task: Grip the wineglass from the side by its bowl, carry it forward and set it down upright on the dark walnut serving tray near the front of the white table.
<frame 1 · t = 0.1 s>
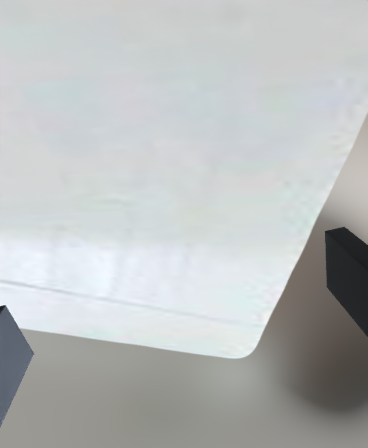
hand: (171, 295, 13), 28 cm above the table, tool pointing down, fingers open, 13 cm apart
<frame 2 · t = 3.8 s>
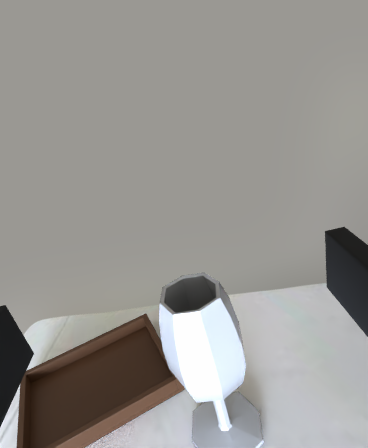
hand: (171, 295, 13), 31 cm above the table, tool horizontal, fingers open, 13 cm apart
wineglass: (227, 430, 38), on the table
serving tray: (100, 386, 47), on the table
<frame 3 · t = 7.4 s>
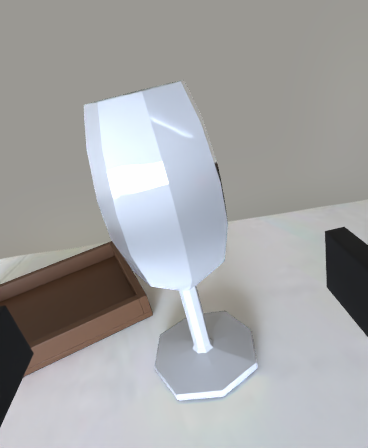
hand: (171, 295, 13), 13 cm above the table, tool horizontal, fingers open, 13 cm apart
wineglass: (206, 356, 27), on the table
serving tray: (46, 317, 36), on the table
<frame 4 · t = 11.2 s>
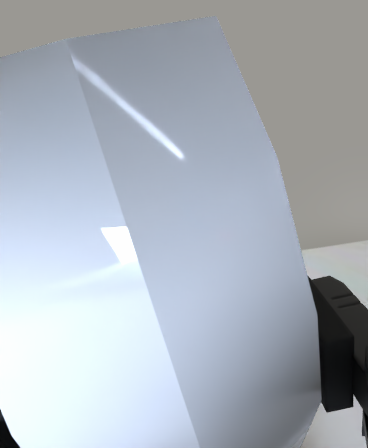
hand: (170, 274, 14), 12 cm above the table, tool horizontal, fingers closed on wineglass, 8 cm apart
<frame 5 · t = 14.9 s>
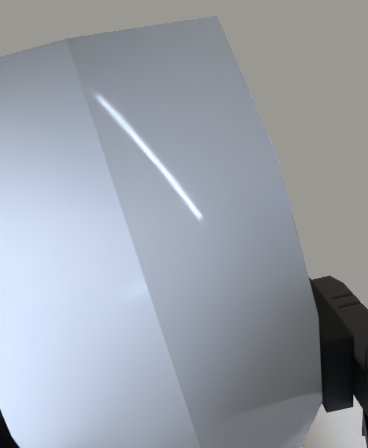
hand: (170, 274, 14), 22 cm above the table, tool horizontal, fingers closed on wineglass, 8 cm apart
when the fingers open (13 cm above the table, at t = 18.8 s): wineglass stays where it is, resting on serving tray.
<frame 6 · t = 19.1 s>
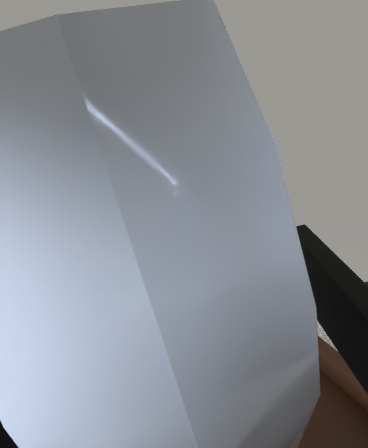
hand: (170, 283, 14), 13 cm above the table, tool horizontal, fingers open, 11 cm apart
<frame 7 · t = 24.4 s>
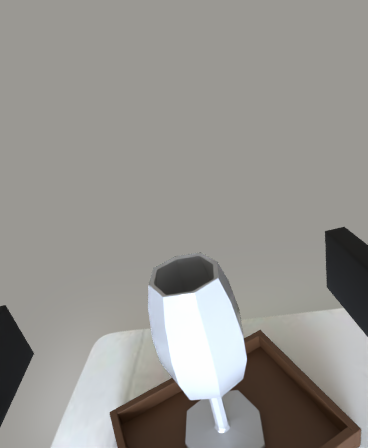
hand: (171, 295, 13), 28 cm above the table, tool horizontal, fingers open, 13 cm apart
wineglass: (224, 432, 34), resting on serving tray
serving tray: (225, 434, 34), on the table
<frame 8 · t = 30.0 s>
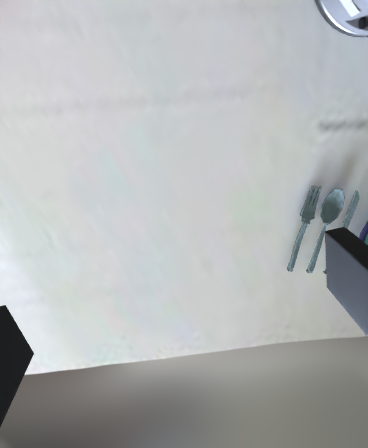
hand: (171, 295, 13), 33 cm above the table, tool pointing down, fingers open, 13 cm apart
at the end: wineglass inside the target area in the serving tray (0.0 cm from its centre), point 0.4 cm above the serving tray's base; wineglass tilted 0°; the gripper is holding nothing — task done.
